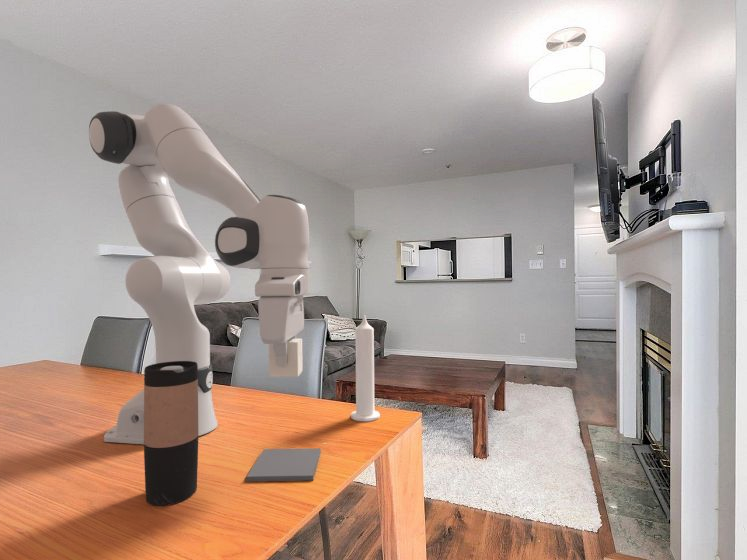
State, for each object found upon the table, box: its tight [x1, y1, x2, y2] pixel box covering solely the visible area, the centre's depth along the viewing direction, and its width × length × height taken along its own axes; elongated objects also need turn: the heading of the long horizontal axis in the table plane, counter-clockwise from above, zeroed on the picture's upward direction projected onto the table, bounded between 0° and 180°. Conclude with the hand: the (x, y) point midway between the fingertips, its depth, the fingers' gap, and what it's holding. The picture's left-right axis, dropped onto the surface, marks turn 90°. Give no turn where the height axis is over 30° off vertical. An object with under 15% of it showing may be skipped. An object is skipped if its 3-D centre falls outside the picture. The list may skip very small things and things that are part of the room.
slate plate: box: [245, 447, 322, 482], centre depth 71 cm, size 11×11×1 cm
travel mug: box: [143, 361, 199, 507], centre depth 62 cm, size 8×8×20 cm
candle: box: [350, 314, 381, 422], centre depth 98 cm, size 7×7×25 cm
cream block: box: [268, 338, 304, 378], centre depth 72 cm, size 5×5×6 cm
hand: (285, 362), depth 72 cm, fingers closed on cream block, 5 cm apart
